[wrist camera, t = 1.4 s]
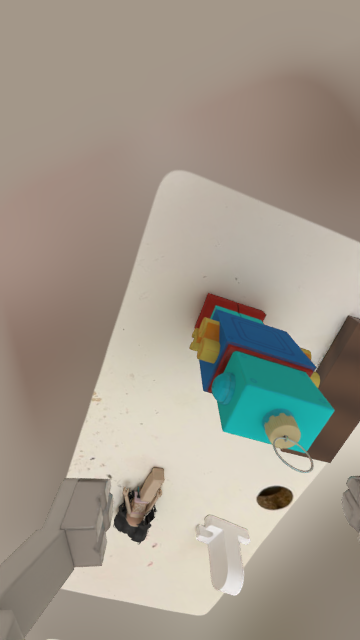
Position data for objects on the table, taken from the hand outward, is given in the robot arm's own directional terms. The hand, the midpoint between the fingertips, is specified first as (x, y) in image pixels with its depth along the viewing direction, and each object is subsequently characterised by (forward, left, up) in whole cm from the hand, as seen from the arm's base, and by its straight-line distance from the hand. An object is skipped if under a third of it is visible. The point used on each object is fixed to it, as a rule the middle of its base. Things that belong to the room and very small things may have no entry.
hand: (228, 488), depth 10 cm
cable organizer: (+31, +43, -30) cm, 61 cm away
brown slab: (-4, +29, -30) cm, 42 cm away
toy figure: (+35, +24, -30) cm, 52 cm away
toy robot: (0, +8, -30) cm, 31 cm away
